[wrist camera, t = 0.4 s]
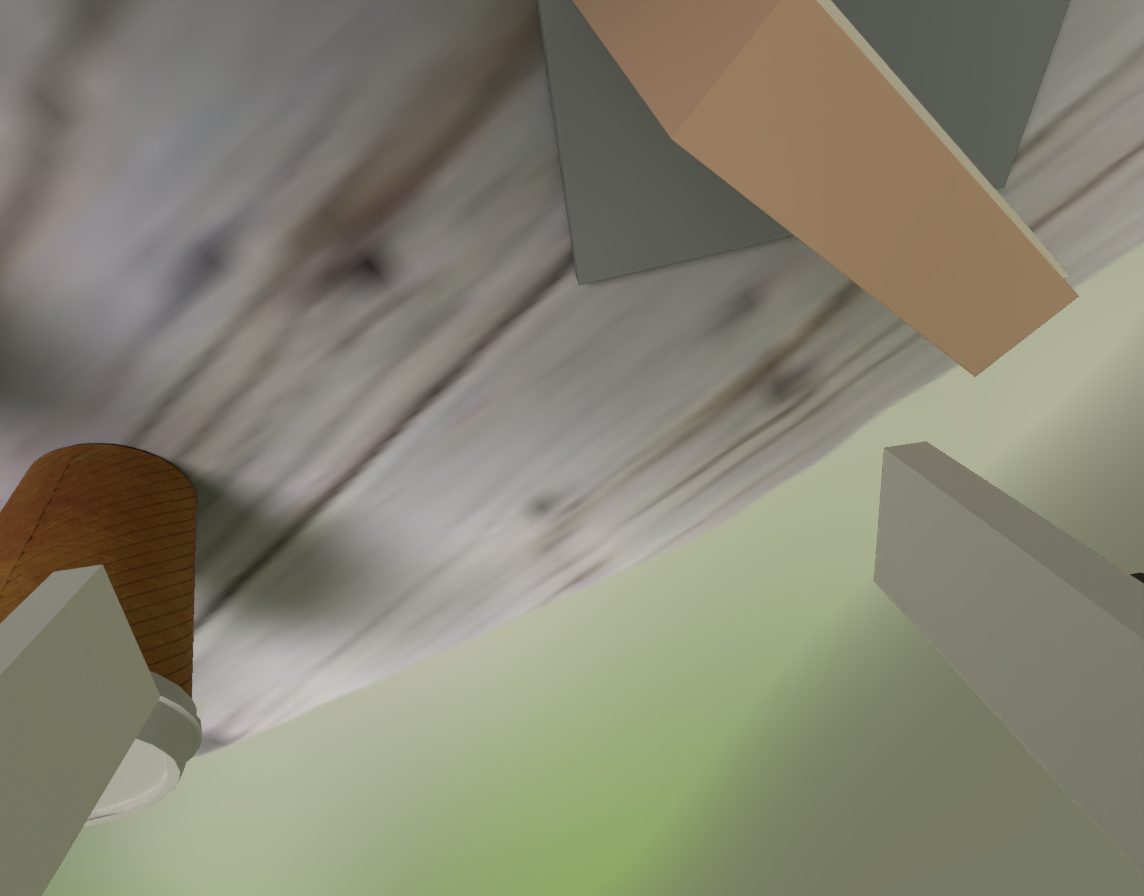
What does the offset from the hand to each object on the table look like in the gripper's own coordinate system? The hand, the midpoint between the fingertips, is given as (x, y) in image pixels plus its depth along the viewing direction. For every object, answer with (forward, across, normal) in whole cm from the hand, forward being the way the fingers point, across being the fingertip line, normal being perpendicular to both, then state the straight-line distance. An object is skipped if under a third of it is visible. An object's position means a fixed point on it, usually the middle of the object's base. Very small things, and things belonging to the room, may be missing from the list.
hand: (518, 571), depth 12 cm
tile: (+14, +9, +8) cm, 18 cm away
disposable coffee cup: (+19, -17, -5) cm, 26 cm away
